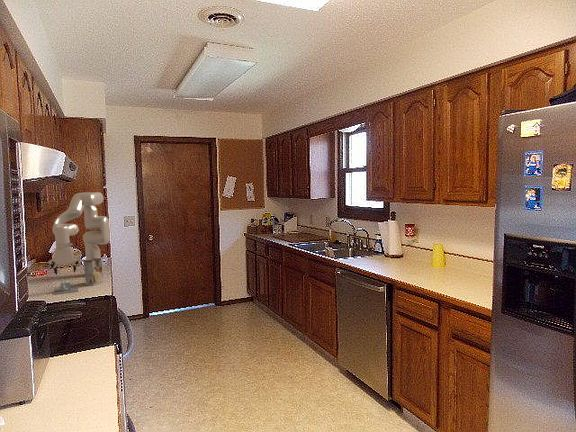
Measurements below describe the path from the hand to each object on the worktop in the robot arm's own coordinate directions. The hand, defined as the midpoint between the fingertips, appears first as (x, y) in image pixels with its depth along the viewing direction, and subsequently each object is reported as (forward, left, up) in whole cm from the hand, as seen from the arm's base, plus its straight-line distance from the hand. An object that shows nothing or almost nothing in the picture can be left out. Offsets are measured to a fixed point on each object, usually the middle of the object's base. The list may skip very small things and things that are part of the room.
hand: (65, 272), depth 239 cm
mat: (+1, 0, -11) cm, 11 cm away
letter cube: (+1, 0, -11) cm, 11 cm away
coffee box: (-9, +16, -11) cm, 21 cm away
